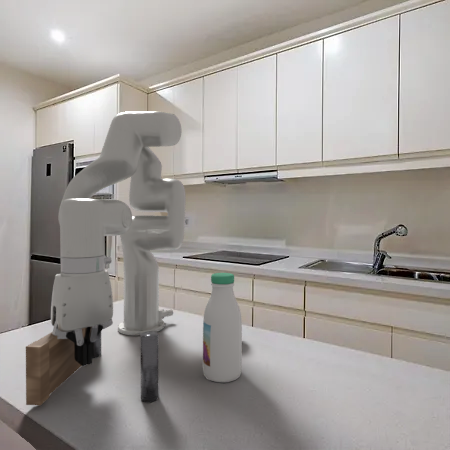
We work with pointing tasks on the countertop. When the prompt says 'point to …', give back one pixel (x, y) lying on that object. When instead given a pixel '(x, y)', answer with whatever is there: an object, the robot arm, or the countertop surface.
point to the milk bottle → (222, 331)
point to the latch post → (149, 366)
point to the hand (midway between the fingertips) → (84, 362)
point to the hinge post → (97, 347)
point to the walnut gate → (48, 367)
